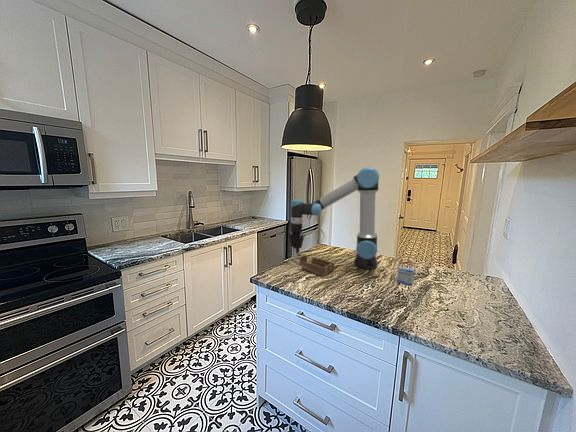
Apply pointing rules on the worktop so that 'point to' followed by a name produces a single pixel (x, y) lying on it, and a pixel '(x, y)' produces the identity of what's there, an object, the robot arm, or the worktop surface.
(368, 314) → the worktop surface
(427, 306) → the worktop surface
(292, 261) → the cover plate
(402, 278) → the medicine box
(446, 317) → the worktop surface
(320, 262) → the walnut box
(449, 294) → the worktop surface
